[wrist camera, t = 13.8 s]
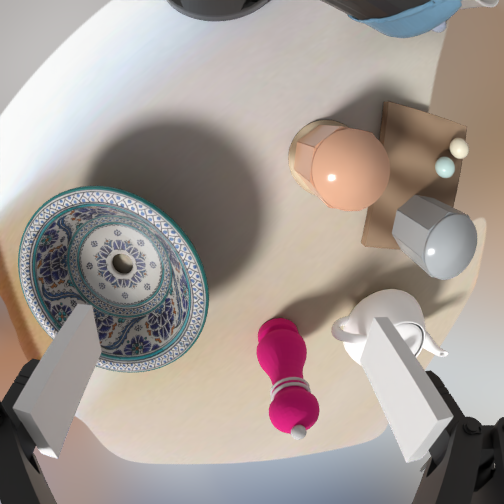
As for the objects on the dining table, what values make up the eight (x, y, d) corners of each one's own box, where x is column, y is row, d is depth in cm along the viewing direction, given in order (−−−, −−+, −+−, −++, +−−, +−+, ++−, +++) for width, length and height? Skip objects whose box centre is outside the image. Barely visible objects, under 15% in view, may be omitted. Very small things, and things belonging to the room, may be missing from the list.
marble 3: (461, 137, 34) (475, 148, 34) (452, 131, 36) (467, 142, 37) (450, 154, 36) (465, 165, 36) (443, 147, 38) (457, 158, 39)
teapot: (306, 341, 51) (321, 388, 41) (339, 267, 46) (366, 307, 36) (408, 355, 54) (432, 393, 44) (443, 294, 49) (476, 328, 39)
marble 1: (422, 16, 32) (424, 13, 29) (440, 14, 30) (443, 10, 28) (429, 34, 33) (432, 32, 31) (446, 32, 31) (451, 29, 29)
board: (383, 101, 37) (389, 101, 35) (460, 125, 38) (467, 126, 36) (361, 242, 44) (365, 246, 43) (436, 248, 46) (441, 252, 44)
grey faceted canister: (400, 192, 40) (436, 210, 32) (446, 200, 41) (483, 219, 33) (387, 250, 43) (418, 278, 35) (432, 253, 44) (465, 280, 36)
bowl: (236, 202, 41) (238, 225, 32) (188, 349, 50) (182, 392, 41) (62, 152, 36) (24, 163, 28) (48, 304, 45) (21, 337, 36)
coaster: (292, 114, 37) (293, 114, 36) (367, 127, 38) (368, 127, 37) (284, 192, 41) (284, 193, 40) (356, 199, 42) (357, 201, 41)
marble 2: (444, 157, 35) (459, 173, 35) (444, 149, 37) (459, 163, 37) (430, 171, 38) (445, 185, 38) (431, 162, 39) (445, 175, 39)
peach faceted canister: (299, 121, 37) (318, 122, 29) (362, 132, 38) (395, 137, 29) (291, 188, 40) (307, 206, 32) (353, 195, 41) (382, 215, 33)
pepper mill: (246, 343, 50) (255, 448, 31) (268, 308, 47) (289, 414, 29) (286, 356, 51) (308, 457, 33) (309, 323, 49) (344, 424, 31)
